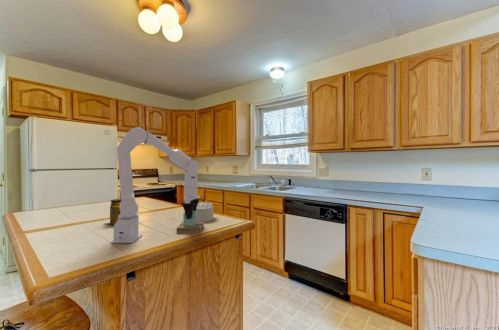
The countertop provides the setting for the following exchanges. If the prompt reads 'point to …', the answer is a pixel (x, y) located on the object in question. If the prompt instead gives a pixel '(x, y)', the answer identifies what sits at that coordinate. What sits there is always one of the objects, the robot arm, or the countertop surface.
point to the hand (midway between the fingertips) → (190, 216)
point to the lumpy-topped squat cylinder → (204, 212)
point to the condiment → (114, 212)
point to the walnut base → (190, 228)
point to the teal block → (190, 221)
